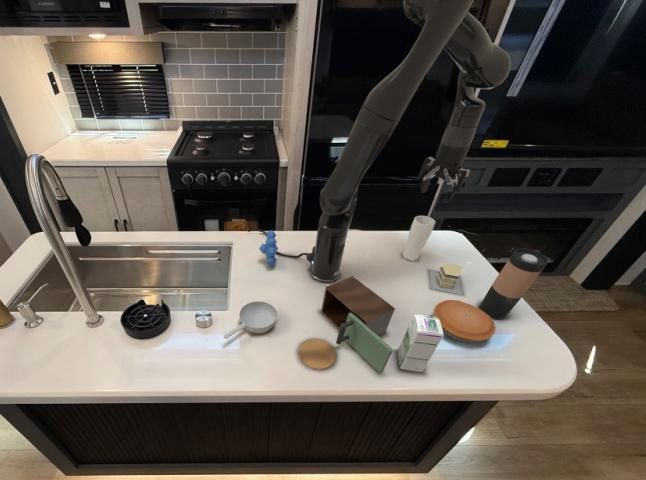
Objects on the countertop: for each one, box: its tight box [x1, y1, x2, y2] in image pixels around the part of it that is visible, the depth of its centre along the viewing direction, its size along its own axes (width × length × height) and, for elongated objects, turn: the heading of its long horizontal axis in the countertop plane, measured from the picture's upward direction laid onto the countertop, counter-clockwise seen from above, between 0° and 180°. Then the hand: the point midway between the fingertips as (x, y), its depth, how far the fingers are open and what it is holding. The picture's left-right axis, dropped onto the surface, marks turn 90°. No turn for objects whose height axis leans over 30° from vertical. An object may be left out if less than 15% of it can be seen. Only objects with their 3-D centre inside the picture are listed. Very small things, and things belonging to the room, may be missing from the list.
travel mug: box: [478, 248, 549, 320], centre depth 88 cm, size 8×8×20 cm
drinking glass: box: [402, 215, 436, 261], centre depth 111 cm, size 7×7×15 cm
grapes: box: [258, 229, 279, 268], centre depth 110 cm, size 12×7×12 cm, turn 2°
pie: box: [432, 299, 496, 343], centre depth 88 cm, size 15×16×5 cm
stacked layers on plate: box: [429, 263, 463, 295], centre depth 103 cm, size 10×9×6 cm
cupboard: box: [320, 275, 396, 338], centre depth 88 cm, size 16×10×10 cm, turn 30°
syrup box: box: [396, 313, 445, 373], centre depth 76 cm, size 6×6×14 cm
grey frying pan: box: [223, 300, 278, 339], centre depth 89 cm, size 11×18×4 cm, turn 134°
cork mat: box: [298, 339, 337, 370], centre depth 83 cm, size 10×10×1 cm
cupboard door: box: [335, 313, 394, 375], centre depth 79 cm, size 14×5×9 cm, turn 30°
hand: (434, 196), depth 100 cm, fingers open, 8 cm apart
